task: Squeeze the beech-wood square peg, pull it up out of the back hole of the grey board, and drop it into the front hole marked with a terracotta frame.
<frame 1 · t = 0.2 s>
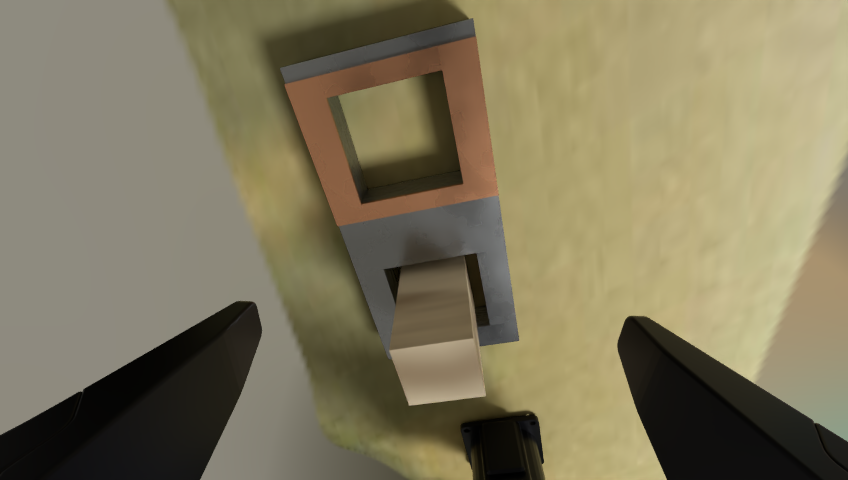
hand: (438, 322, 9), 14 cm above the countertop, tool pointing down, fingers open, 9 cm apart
grey board: (422, 213, 23), on the countertop
beech peg: (438, 279, 26), resting in grey board
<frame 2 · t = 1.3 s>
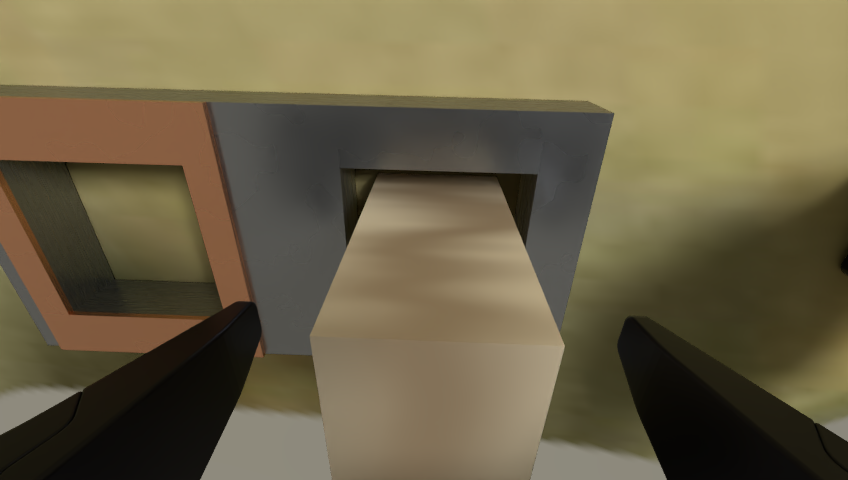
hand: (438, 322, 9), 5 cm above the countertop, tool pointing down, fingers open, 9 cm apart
grey board: (298, 223, 14), on the countertop
beech peg: (435, 227, 14), resting in grey board
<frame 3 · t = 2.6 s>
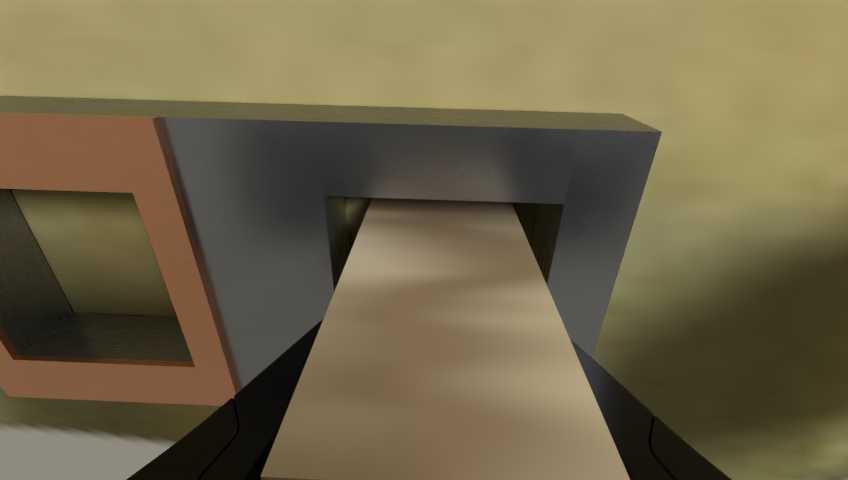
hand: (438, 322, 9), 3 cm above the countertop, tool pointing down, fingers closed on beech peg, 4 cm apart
grey board: (279, 252, 12), on the countertop
beech peg: (438, 258, 12), resting in grey board, touching gripper
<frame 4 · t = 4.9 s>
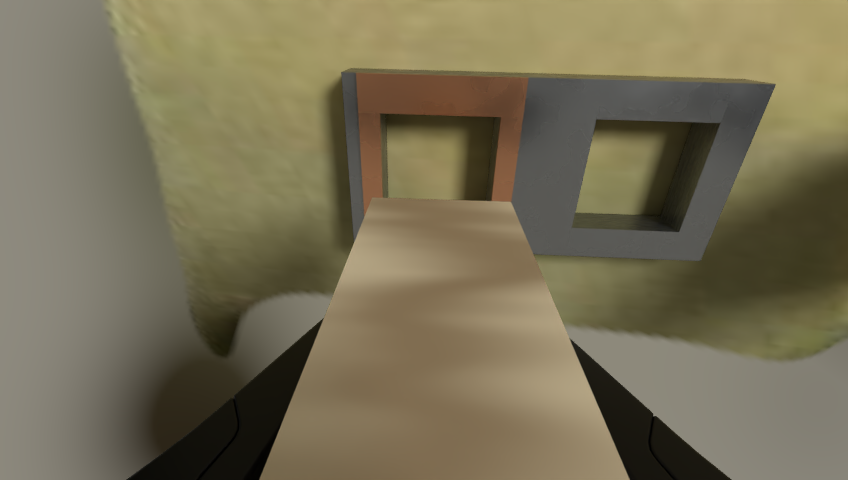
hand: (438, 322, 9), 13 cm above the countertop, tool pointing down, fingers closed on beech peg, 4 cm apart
grey board: (530, 163, 21), on the countertop
beech peg: (438, 259, 12), point 10 cm above the countertop, touching gripper
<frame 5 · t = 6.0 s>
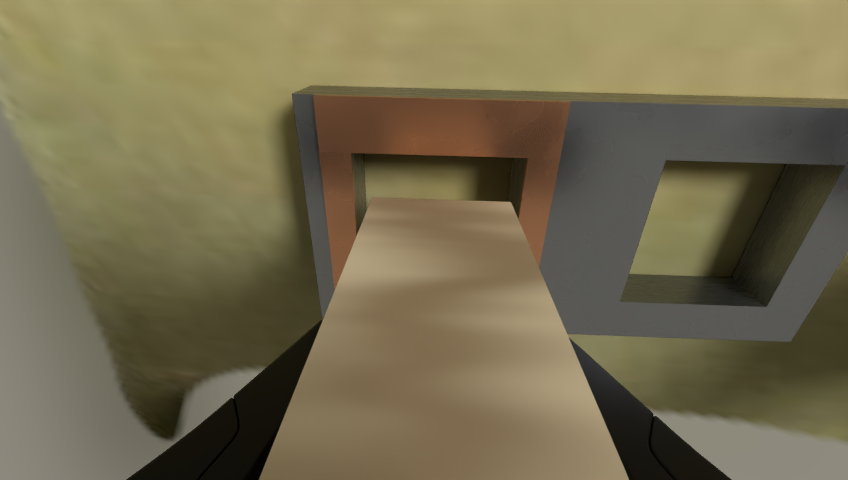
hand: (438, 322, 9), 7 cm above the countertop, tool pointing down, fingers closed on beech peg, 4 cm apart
grey board: (561, 212, 15), on the countertop
beech peg: (438, 259, 12), point 4 cm above the countertop, touching gripper
when the fingers open (5 cm above the countertop, at t = 7.1 s): beech peg drops 2 cm, resting in grey board.
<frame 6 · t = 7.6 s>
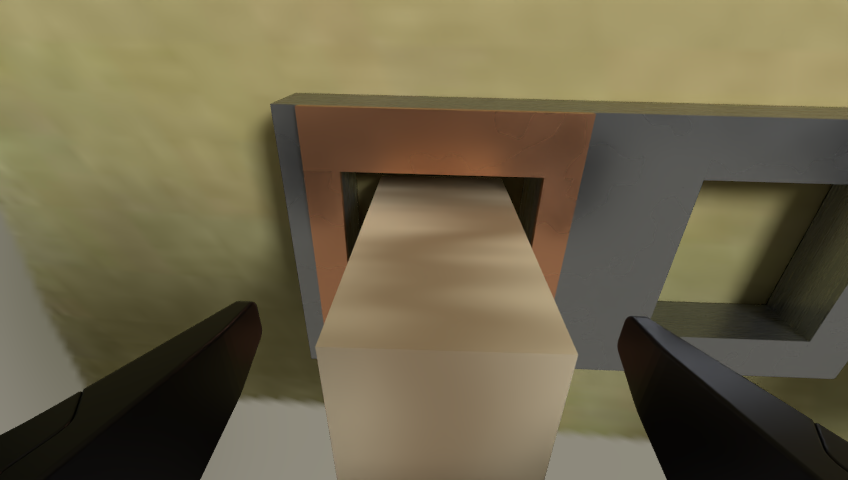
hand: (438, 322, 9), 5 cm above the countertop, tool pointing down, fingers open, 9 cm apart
grey board: (578, 234, 14), on the countertop
beech peg: (439, 230, 14), resting in grey board
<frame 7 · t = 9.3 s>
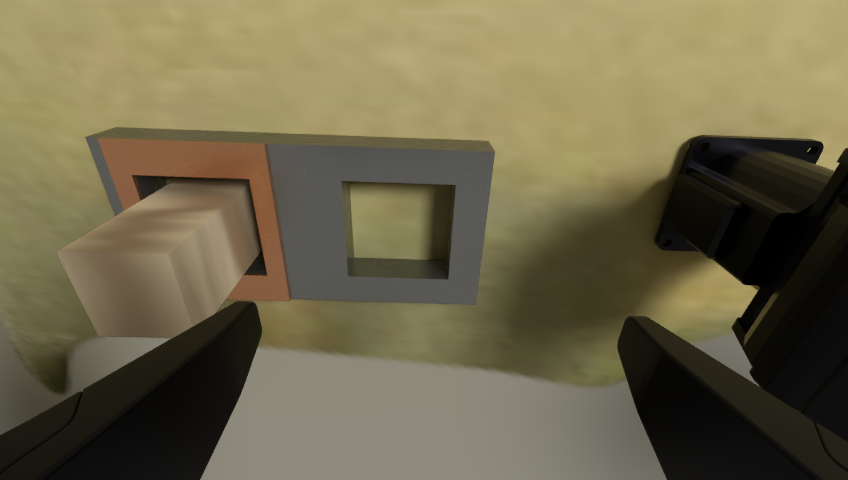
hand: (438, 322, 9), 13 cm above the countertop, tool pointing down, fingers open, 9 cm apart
grey board: (312, 214, 22), on the countertop
beech peg: (225, 211, 22), resting in grey board
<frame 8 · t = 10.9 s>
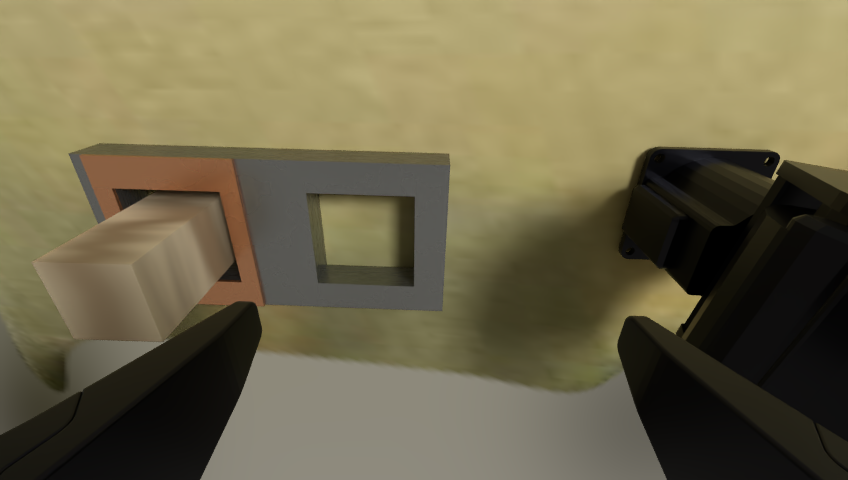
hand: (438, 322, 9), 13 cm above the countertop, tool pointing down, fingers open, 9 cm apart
grey board: (285, 223, 23), on the countertop
beech peg: (203, 221, 23), resting in grey board
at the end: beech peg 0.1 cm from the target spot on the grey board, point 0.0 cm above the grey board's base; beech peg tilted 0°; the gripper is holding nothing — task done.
